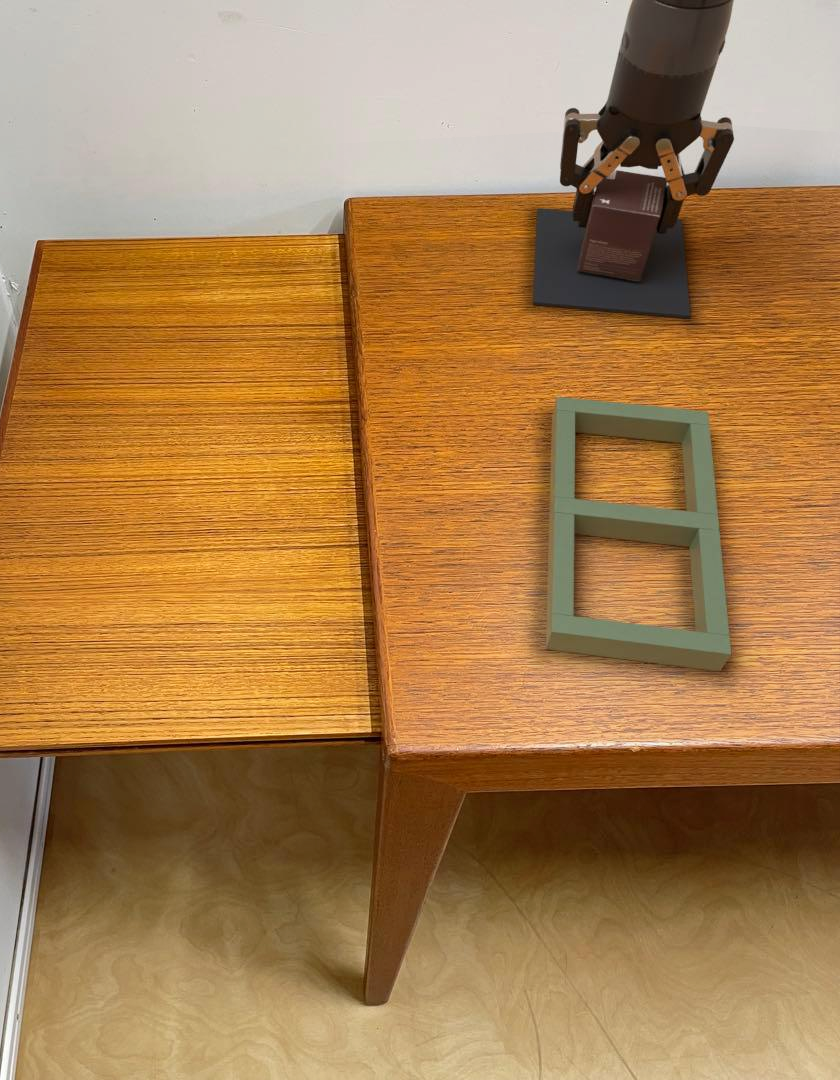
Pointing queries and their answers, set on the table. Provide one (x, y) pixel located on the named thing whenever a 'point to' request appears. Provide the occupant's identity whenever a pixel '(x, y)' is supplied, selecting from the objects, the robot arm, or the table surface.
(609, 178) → the box
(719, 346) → the table surface
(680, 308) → the mat
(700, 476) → the rack
